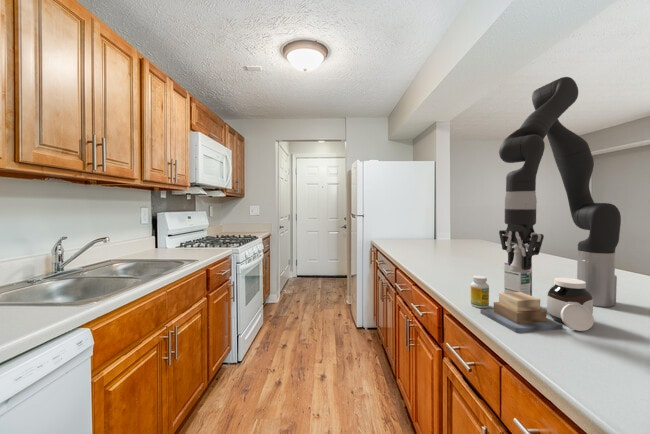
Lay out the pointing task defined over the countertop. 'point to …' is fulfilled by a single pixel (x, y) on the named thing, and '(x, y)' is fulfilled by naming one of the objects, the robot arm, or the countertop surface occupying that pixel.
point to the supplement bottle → (479, 292)
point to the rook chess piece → (517, 260)
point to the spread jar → (571, 304)
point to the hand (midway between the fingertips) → (519, 267)
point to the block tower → (520, 313)
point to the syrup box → (517, 281)
